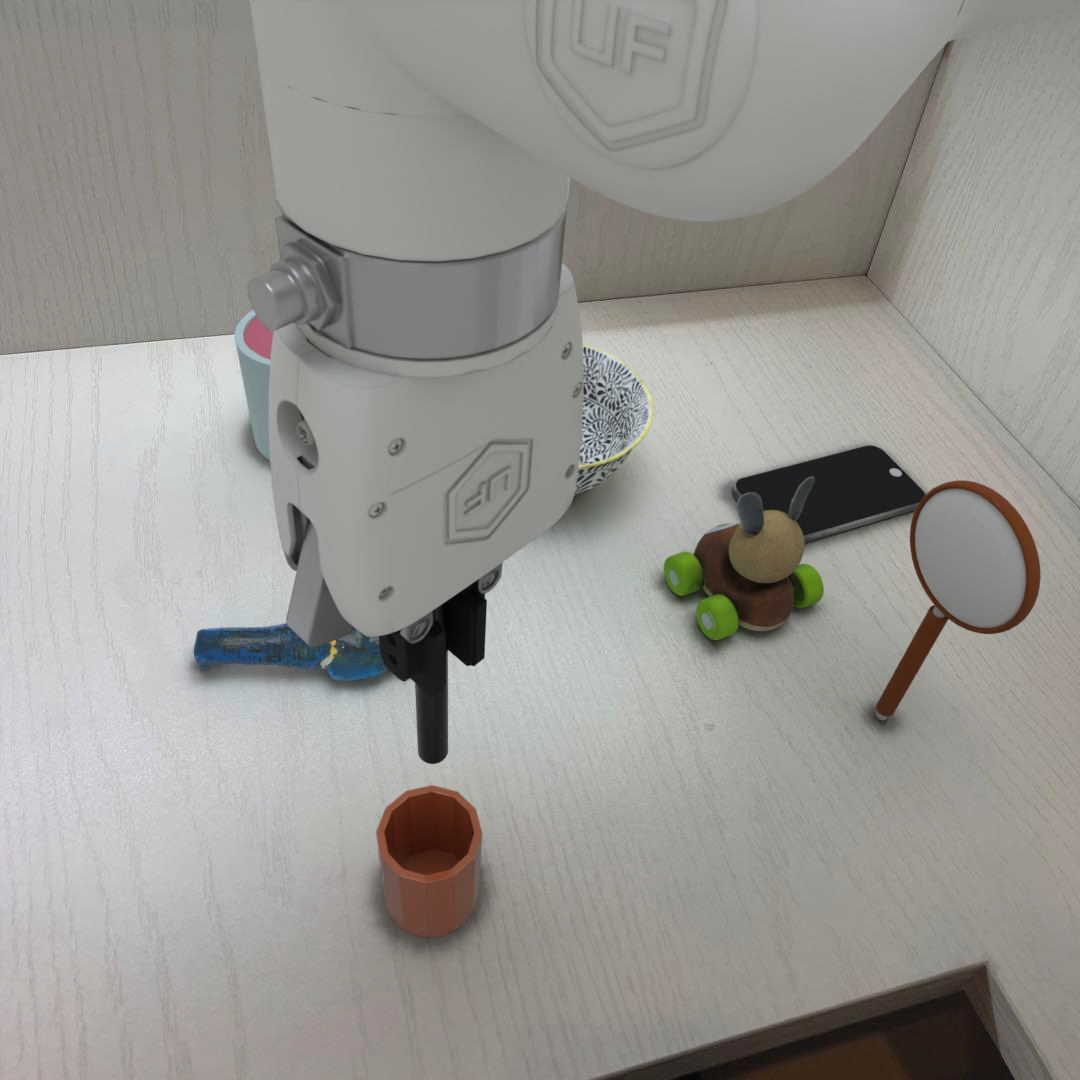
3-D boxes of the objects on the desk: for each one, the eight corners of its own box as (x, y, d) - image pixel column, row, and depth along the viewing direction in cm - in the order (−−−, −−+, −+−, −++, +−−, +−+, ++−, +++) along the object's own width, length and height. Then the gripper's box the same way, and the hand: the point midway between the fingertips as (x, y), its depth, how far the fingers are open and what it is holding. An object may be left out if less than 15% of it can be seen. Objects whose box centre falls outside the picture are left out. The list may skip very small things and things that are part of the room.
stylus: (454, 751, 45) (456, 564, 36) (431, 770, 44) (427, 584, 35) (434, 732, 46) (430, 543, 36) (411, 750, 45) (401, 563, 36)
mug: (233, 426, 81) (211, 324, 73) (327, 385, 85) (316, 284, 78) (326, 517, 74) (312, 415, 67) (423, 467, 79) (420, 366, 71)
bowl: (426, 527, 74) (424, 452, 69) (462, 399, 85) (462, 326, 80) (635, 553, 73) (649, 480, 68) (643, 421, 84) (656, 350, 79)
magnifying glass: (831, 671, 67) (935, 452, 52) (852, 664, 67) (960, 445, 53) (910, 775, 61) (1050, 563, 47) (932, 767, 62) (1076, 554, 48)
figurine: (197, 694, 63) (428, 687, 65) (185, 676, 60) (430, 669, 62) (202, 625, 65) (427, 621, 67) (191, 604, 62) (428, 600, 64)
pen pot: (497, 891, 55) (501, 832, 49) (428, 958, 52) (425, 903, 47) (435, 830, 57) (433, 768, 52) (365, 890, 54) (356, 831, 49)
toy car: (754, 536, 75) (790, 425, 67) (824, 616, 70) (872, 506, 62) (654, 570, 72) (679, 458, 64) (720, 657, 67) (756, 547, 59)
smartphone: (934, 499, 79) (779, 544, 74) (931, 506, 79) (777, 551, 74) (876, 441, 83) (727, 480, 78) (873, 447, 84) (725, 486, 79)
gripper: (266, 445, 21) (338, 844, 34) (706, 217, 29) (625, 609, 42) (86, 296, 24) (216, 712, 37) (527, 130, 32) (504, 519, 46)
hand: (433, 656), depth 40 cm, fingers closed on stylus, 1 cm apart
